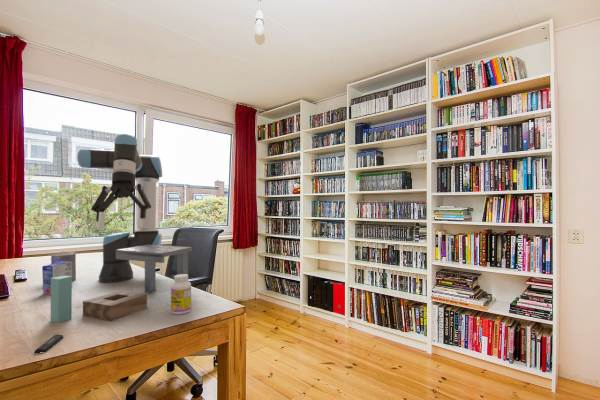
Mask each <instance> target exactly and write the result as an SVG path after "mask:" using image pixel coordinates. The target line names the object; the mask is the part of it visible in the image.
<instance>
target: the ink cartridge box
mask: <svg viewBox="0 0 600 400" xmlns="http://www.w3.org/2000/svg"><path fill="white" fill-rule="evenodd" d="M55 259H56V260H58V261H53V260H55ZM50 260H51V261H52V263H53V264H51V263H50V264H46V265H42V267H41V269H42V294H43V295H44V294H45V295H51V278H54V277H59V276H72V262H66V261H62V262H60V260H59V258H53V259H51V258H50ZM51 261H50V262H51Z"/></svg>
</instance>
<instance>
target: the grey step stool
mask: <svg viewBox="0 0 600 400" xmlns="http://www.w3.org/2000/svg"><path fill="white" fill-rule="evenodd" d="M192 249H193V247H192V246H176V245H163V244H161V245H144V246H137V247H131V248H124V249H118V250H116V259H123V260H129V261H135V262H144V293H152V292H156V286H157V285H156V284H157V283H156V281H157V280H156V278H157V277H156V273H157V272H156V271H157V270H156V263H159V264H163V263H165V258H166V257H171V256H174V255H176V257H177V259H176V260H177V261H176V265H177V266H176V270H177V271H176V275H179V274H187V275H188V276H189V252H192V251H193V250H192Z"/></svg>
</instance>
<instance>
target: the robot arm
mask: <svg viewBox="0 0 600 400" xmlns="http://www.w3.org/2000/svg"><path fill="white" fill-rule="evenodd" d="M113 144H114V150H112V149H110V150H107V149H92V148H91V149H90V148H88V149H86V148H82V149H79V150H78V152H77V158H76V159H77V164H78V165H79V167H80V168H82V169H98V170H104V171H109V173H111V174H112V175H111V183H112V184H111V186H105V185H103V186H102V187H101V192H100V193H99V195H98V196H97V199H96V200H95V202H94V203H93V205H92V207H91V208H90V209H91V211H93V212H95V213H96V215H95V216H96V217H95V221H96V222H97V230H98V231H101V232H104V231H105V224H106V223H105V221H106V213H105V211H106V210H107V209H108V208H109V207H110V206H111V205H112V204H113V203H114V201H116V200H118V199H123V198H125V199H127V198H131V200H132V201H133V202H134V204H136V205H137V222H136V229H134V231H133V234H131V233H130V232H129V231H124V232H118V233H112V234H111V233H110V234H108V235H107V234H106V235H105V236H104V237H103V241H102V267H101V269H100V273H99V275H98V281H99V282H101V283H114V282H115V283H116V282H121V281H127V280H130V279H133V278H134V271H133V267H132V266H131V262H130V260H123V259H116V250H118V249H124V248H131V247H137V246H144V245H162V237H163V236H162V234H161V233H159V231H160V230H159V229H158V228H157V227H156V223H157V222H156V221H157V220H156V217H157V214H156V213H157V212H156V210H157V209H156V208H157V207H156V206H157V205H156V204H157V183H158V182H159V181H160V178H163V167H162V163H161V158H160V157H159V156H157V155H154V154H153V155H152V154H140V153H139V151H138V139H137V137H135V136H134V135H132V134H128V133H121V134H120V133H119V134H117V135H116V136H115V139H114V143H113ZM135 182H137V184H136V183H135ZM135 184H136V185H135ZM135 190H136V191H137V196H136V195H135V194H134V192H135Z"/></svg>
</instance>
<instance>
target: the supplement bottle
mask: <svg viewBox="0 0 600 400" xmlns="http://www.w3.org/2000/svg"><path fill="white" fill-rule="evenodd" d="M173 280H174V282H173V283H172V284H171V286H170V312H171V314H173V315H179V316H180V315H185V314H187V313H189V312H190V311H191V310H192V283H191V282H190V281H189V274H188V275H187V274H179V275H177V274H176V275H173Z"/></svg>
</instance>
